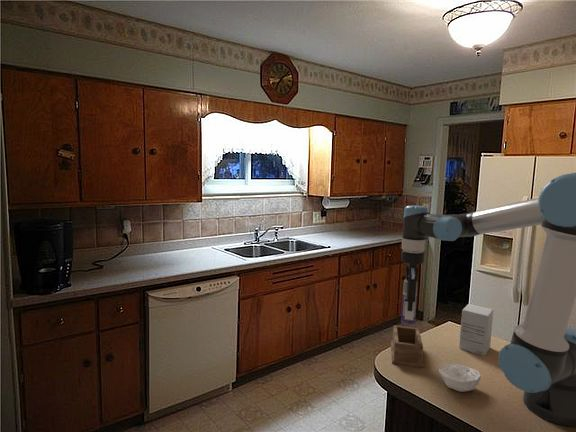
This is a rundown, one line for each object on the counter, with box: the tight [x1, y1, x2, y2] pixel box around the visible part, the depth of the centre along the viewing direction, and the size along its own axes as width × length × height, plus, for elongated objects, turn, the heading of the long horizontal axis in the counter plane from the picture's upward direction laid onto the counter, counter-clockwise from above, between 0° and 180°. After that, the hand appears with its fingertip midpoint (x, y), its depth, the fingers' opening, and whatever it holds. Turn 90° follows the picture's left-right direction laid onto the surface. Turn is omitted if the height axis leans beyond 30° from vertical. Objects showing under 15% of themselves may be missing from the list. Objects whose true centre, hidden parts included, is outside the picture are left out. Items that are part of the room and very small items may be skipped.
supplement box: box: [458, 303, 494, 357], centre depth 139 cm, size 9×9×15 cm
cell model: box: [438, 363, 482, 393], centre depth 113 cm, size 10×12×7 cm
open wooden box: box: [390, 324, 425, 369], centre depth 133 cm, size 16×10×7 cm, turn 166°
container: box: [400, 278, 419, 326], centre depth 131 cm, size 5×5×15 cm
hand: (408, 316), depth 132 cm, fingers closed on container, 5 cm apart
